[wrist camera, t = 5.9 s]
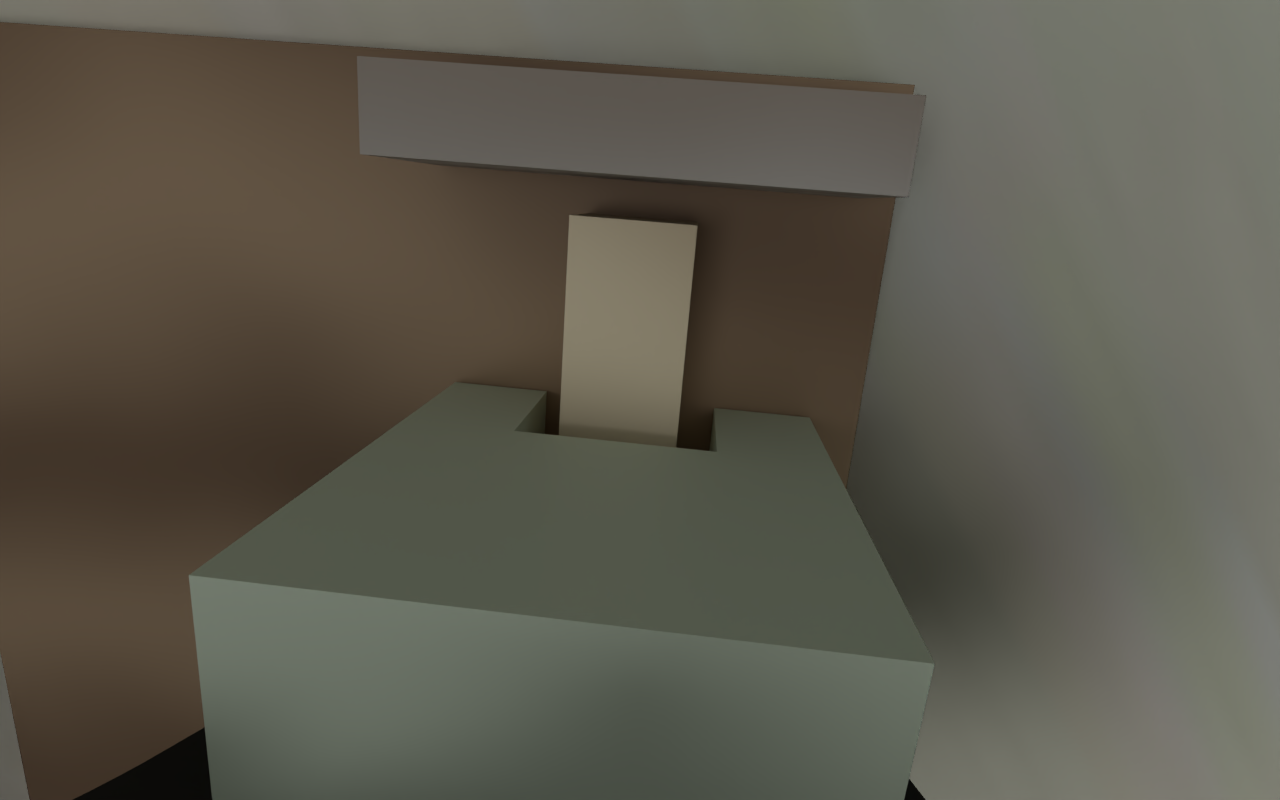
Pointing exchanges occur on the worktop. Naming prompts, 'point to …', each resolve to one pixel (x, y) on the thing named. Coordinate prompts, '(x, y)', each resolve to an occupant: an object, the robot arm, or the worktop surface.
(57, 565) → the cleat board
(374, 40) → the worktop surface
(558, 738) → the cabinet block
